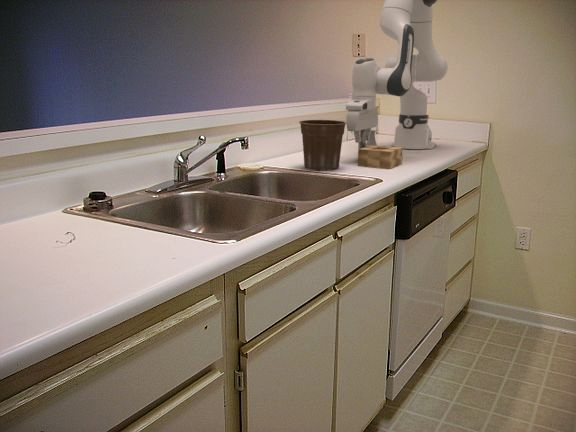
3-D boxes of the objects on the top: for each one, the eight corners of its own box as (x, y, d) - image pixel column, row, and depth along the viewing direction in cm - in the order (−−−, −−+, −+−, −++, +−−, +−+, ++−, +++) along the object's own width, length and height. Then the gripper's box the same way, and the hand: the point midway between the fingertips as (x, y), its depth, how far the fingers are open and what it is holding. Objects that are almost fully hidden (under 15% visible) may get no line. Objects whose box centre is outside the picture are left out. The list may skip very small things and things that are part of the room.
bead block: (371, 161, 214) (371, 145, 212) (401, 163, 208) (402, 147, 206) (357, 165, 204) (358, 149, 202) (389, 168, 198) (389, 151, 196)
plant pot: (353, 166, 202) (354, 121, 198) (330, 173, 189) (331, 124, 185) (314, 162, 211) (315, 118, 207) (290, 169, 198) (290, 122, 194)
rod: (359, 159, 218) (360, 122, 214) (366, 160, 216) (367, 122, 213) (356, 160, 215) (357, 123, 212) (363, 161, 214) (364, 123, 210)
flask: (379, 157, 223) (380, 131, 221) (360, 156, 225) (361, 131, 222) (380, 154, 230) (381, 129, 228) (362, 154, 232) (363, 129, 229)
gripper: (367, 102, 221) (366, 137, 224) (343, 105, 204) (342, 143, 207) (382, 102, 217) (381, 138, 221) (359, 105, 201) (358, 145, 204)
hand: (362, 141), depth 214 cm, fingers open, 6 cm apart
